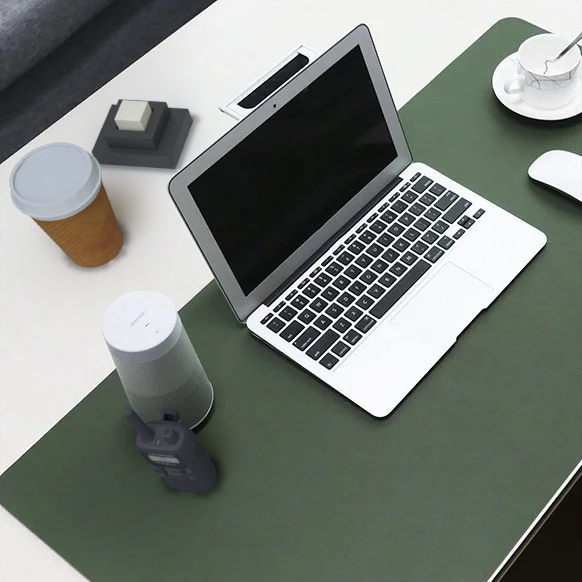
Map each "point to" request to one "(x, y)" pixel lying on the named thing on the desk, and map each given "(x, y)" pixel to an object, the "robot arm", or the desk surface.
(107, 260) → the disposable coffee cup
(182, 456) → the two-way radio
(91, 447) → the desk surface
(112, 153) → the key block
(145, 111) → the key
